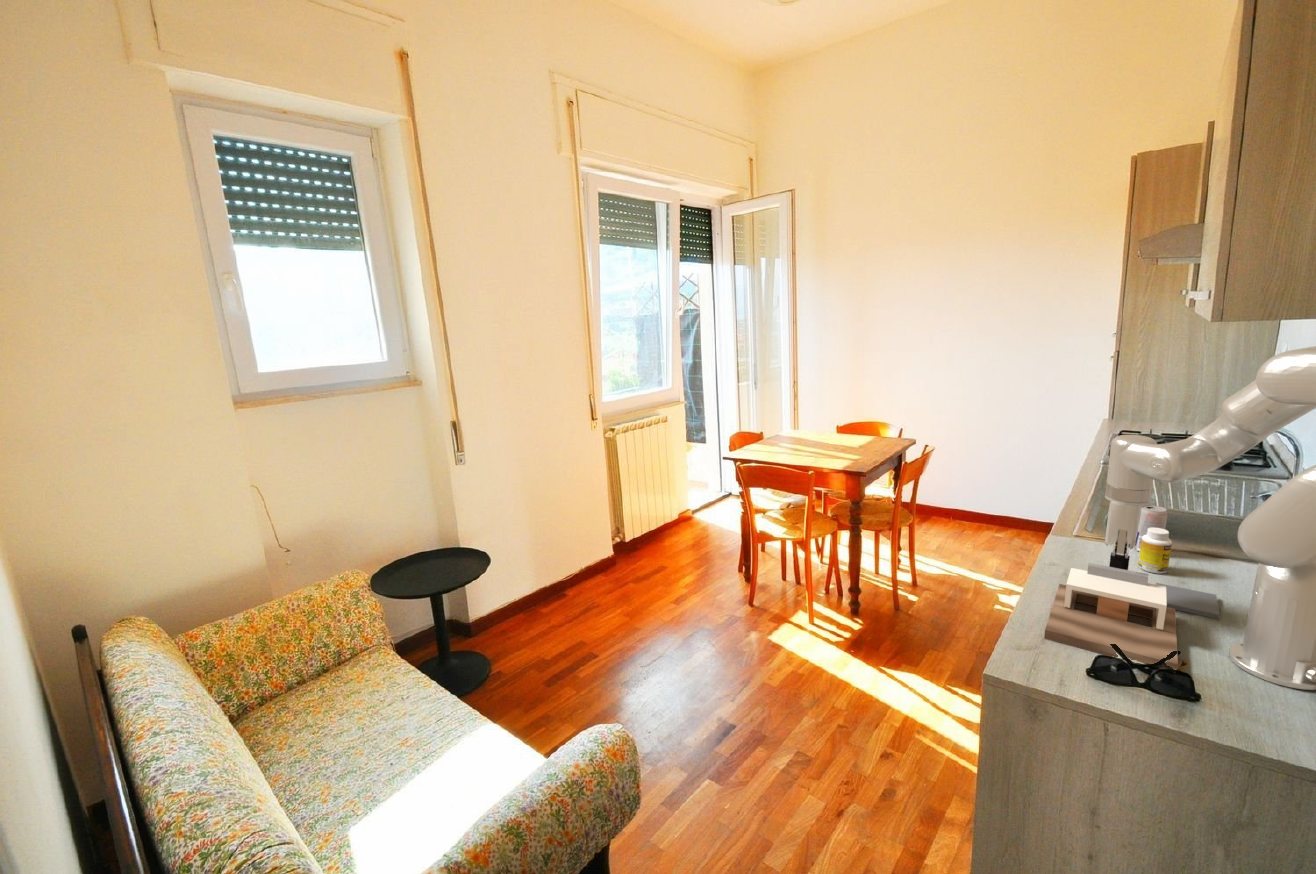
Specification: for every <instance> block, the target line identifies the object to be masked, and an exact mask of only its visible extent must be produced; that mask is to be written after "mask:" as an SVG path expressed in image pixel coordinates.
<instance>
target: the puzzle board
mask: <svg viewBox="0 0 1316 874" xmlns="http://www.w3.org/2000/svg"><path fill="white" fill-rule="evenodd" d="M1065 593H1066V585H1065V584H1061V583H1058V587H1057V591H1056V594H1055V596H1054V600H1053V603H1052V605H1051V606H1052V607H1051V609H1050V612H1049V616H1048V620H1047V623H1046V625H1045V629H1044V635H1043V636H1044V637H1043V638H1044V639H1045V640H1048V641H1053V642H1056V643H1060V644H1064V645H1066V646H1071V647H1074V648H1079V649H1082V650H1085V651H1089V652H1093V653H1096V654H1100V655H1104V656H1107V657H1111V656H1114V657H1118V655H1117V654H1116V652H1115V651H1114V650H1113V648H1112V646H1111V645H1110V644H1116V645H1117V646H1118V647H1119V648H1120V649H1121V650H1122V651H1123V653H1124V654H1125V655H1126V657H1128V658H1130V659H1131V660H1138V661H1140V662H1144V663H1149V664H1154V663H1157V662H1159V661H1160V660H1161V659H1163V658H1166V657H1167V655H1169V654H1170V653H1171V652H1173V651H1177V652H1178V642H1177V641H1178V640H1177V638H1178V637H1177V623H1176V622H1177V621H1176V620H1177V619H1176V618H1177V617H1176V610H1175V609H1174V608H1169V607H1166V613H1165V620H1164V626H1163V630H1161V629H1157V628H1156V608H1154V607H1149V606H1144V605H1140V604H1135V603H1131V602H1129V609H1128V615H1134V616H1139V617H1142V618H1147V619H1150V620H1151V626H1148V625H1147V626H1146V625H1142V624H1138V623H1134V622H1130V621H1127V622H1126V621H1122V620H1118V619H1114V618H1109V617H1105V616H1101V615H1097V613H1091V612H1087V611H1083V610H1078V609H1075V605H1076V603H1082V604H1085V605H1089V606H1095V607H1097V606H1098V597H1099V595H1094V594H1090V593H1085V592H1081V591H1076V590H1074V594H1073V598H1072V601H1071V605H1070V608H1068V607H1064V603H1065ZM1114 657H1113V658H1114ZM1166 665H1167V666H1170V667H1172V668H1173V669H1177V670H1178V666H1179V661H1178V653H1177V654H1176V655H1175V656H1174V657H1173V658H1171V659H1170V660H1168V661H1167V662H1166Z"/></svg>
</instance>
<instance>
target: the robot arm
mask: <svg viewBox="0 0 1316 874" xmlns="http://www.w3.org/2000/svg"><path fill="white" fill-rule="evenodd" d="M1221 410H1222V414H1221V415H1219V417H1217V418H1216V419H1215V420H1214V421H1212V422H1211V423H1209V425H1207V426H1205V427H1203V428H1202V429H1200V430H1198V432H1196V433H1194V434H1193V435H1190V436H1189V437H1187V438H1186V439H1185V438H1184V439H1180V440H1176V441H1172V442H1167V443H1165V442H1164V443H1159V444H1158V442H1157V441H1156V440H1155V439H1153V438H1152V437H1149V436H1145V435H1138V434H1122V435H1117V436H1115V437H1114V438H1112V441H1111V443H1110V449H1109V451H1110V452H1109V458H1108V459H1109V460H1108V467H1107V468H1108V469H1107V476H1106V477H1107V478H1106V484H1105V494H1104V498H1105V499H1106V500H1108V501H1109V506H1108V513H1107V522H1106V529H1105V531H1106V532H1105V538H1104V539H1105V540H1104V544H1105V546H1112V552H1110V559H1109V565H1108V567H1113V568H1119V569H1124V570H1129V564H1130V557H1131V556H1130V555H1129V554H1130V553H1129V552H1130V550H1132V549H1134V548H1135V543H1136V537H1137V533H1138V528H1139V523H1140V517H1141V510H1142V506H1143V505H1150V503H1151V500H1152V499H1151V498H1152V490H1153V483H1154V481H1157V482H1161V483H1167V484H1168V483H1179V482H1181V481H1184V480H1188V479H1191V478H1195V477H1199V476H1202V475H1206V474H1210V473H1211V472H1213V471H1215V470H1216V469H1219V468H1220V467H1223V466H1224V465H1227V464H1228V463H1229V462H1231V461H1233V460H1235V459H1237V458H1238V457H1240V456H1241V455H1243V454H1245V453H1246V452H1248V451H1251V449H1253V448H1254V447H1256V446H1257V445H1259V443H1261V442H1263V441H1265V440H1266V439H1267V438H1268V437H1269V436H1271V435H1272V434H1274V433H1275V432H1276V433H1277V431H1279V430H1281V429H1283V428H1284V427H1286V426H1288V425H1289V424H1291V423H1292V422H1294V421H1296V420H1298V419H1299V418H1302V417H1303V416H1305V415H1306V414H1308V413H1310V412H1311V411H1313V410H1316V346H1310V347H1303V348H1298V349H1290V350H1287V351H1282V352H1280V353H1277V354H1275V355H1273V356H1272V357H1270V358H1269V359H1267V360H1266V361H1265V362H1264V363H1262V365H1261V366H1260V367H1259V369H1258V370H1257V373H1256V377H1255V380H1253V381H1251V382H1250V383H1248V384H1247V385H1246V386H1244V387H1242V388H1241V389H1239V390H1238V391H1237V392H1235V393H1234V394H1232V395H1230V396H1229V397H1227V398H1226V399H1225V400H1224V401H1223V402H1222V404H1221ZM1237 542H1238V544H1239V547H1240V548H1241V550H1242V551H1243V552H1244V554H1245V555H1247V557H1248V558H1249V559H1251V560H1252V561H1254V562H1256V563H1257V570H1256V572H1255V578H1254V584H1253V589H1252V594H1251V598H1250V599H1251V600H1250V605H1249V608H1248V609H1249V610H1248V611H1249V612H1248V616H1247V621H1246V625H1245V626H1246V627H1245V630H1244V631H1245V632H1244V637H1243V642H1238V643H1234V644H1233V645H1231V646H1230V647H1229V649H1228V650H1229V651H1228V657H1229V658H1230V660H1231V661H1232V662H1233V664H1234V665H1236V666H1238V667H1239V668H1240V669H1242V670H1243V671H1245V672H1247V673H1249V674H1251V675H1252V676H1255V677H1256V678H1259V679H1262V680H1264V681H1267V682H1270V683H1272V684H1276V685H1279V686H1283V687H1287V688H1292V689H1297V690H1298V689H1299V690H1304V691H1307V690H1308V691H1316V464H1315V465H1312V466H1309V467H1307V468H1305V469H1304V470H1301V472H1299V473H1297V474H1296V475H1294V476H1293V477H1292V478H1291V479H1289V480H1287V482H1286V483H1284V484H1283V485H1282V486H1280V487H1279V488H1278V489H1277V490H1275V492H1274V493H1273V494H1271V495H1270V496H1269V497H1268V498H1267V499H1266V500H1264V501H1263V502H1262V503H1261V504H1259V506H1258V507H1256V508H1255V509H1254V510H1253V511H1252V512H1250V513H1249V514H1248V515H1246V517H1245V518H1244V519H1243V520H1242V522H1241V523H1240V525H1239V526H1238V530H1237Z"/></svg>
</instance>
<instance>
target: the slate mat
mask: <svg viewBox="0 0 1316 874" xmlns="http://www.w3.org/2000/svg"><path fill="white" fill-rule="evenodd" d="M1155 585H1160V586H1165V587H1166V599H1167V607H1169V608H1174V609H1175V611H1180V612H1184V613H1189V614H1194V615H1198V616H1203V617H1208V618H1213V619H1218V620H1220V616H1221V615H1220V609H1219V603H1218V597H1217V594H1214V593H1211V592H1205V591H1200V590H1194V589H1190V588H1185V587H1179V586H1174V585H1171V584H1170V585H1169V584H1165V583H1159V582H1155Z"/></svg>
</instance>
